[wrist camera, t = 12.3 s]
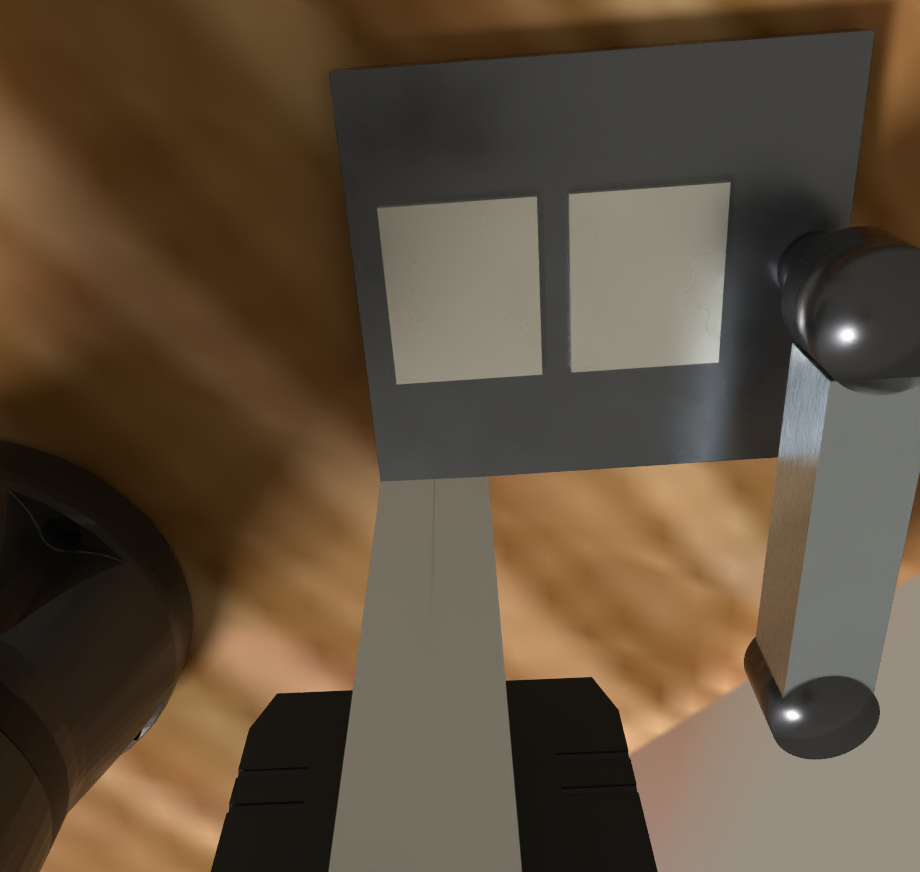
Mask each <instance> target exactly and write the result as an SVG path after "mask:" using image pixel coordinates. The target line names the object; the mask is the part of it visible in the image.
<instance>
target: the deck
mask: <svg viewBox="0 0 920 872" xmlns="http://www.w3.org/2000/svg"><path fill="white" fill-rule="evenodd" d="M874 33H875V30H866V29H850V30H837V31H823V32H810V33H797V34H784V35H771V36H758V37H745V38H732V39H719V40H706V41H693V42H680V43H667V44H654V45H641V46H628V47H615V48H602V49H589V50H576V51H563V52H550V53H537V54H524V55H511V56H498V57H485V58H472V59H459V60H446V61H432V62H419V63H406V64H393V65H380V66H367V67H354V68H341V69H333V70H331V71H330V72H329V77H330V85H331V93H332V101H333V109H334V117H335V124H336V132H337V140H338V148H339V156H340V164H341V172H342V180H343V187H344V195H345V203H346V211H347V219H348V227H349V235H350V243H351V250H352V258H353V266H354V274H355V282H356V290H357V298H358V306H359V314H360V321H361V329H362V337H363V345H364V353H365V361H366V369H367V377H368V384H369V392H370V400H371V408H372V416H373V424H374V432H375V440H376V447H377V455H378V463H379V471H380V479H381V482H382V481H404V480H426V479H448V478H469V477H484V476H499V475H514V474H530V473H545V472H560V471H575V470H590V469H606V468H621V467H636V466H651V465H667V464H682V463H697V462H712V461H727V460H743V459H758V458H773V457H778V454H779V446H780V438H781V430H782V422H783V414H784V406H785V398H786V390H787V382H788V374H789V365H790V357H791V349H792V343H797V342H796V341H795V340H794V338H793V337H792V336H791V335H790V333H789V332H788V330H787V328H786V326H785V323H784V321H783V317H782V312H781V296H782V290H783V286H784V283H785V280H786V278H787V276H788V274H789V271H790V270H791V268H792V267H793V265H794V263H795V262H796V261H797V260H798V258H799V257H800V256H801V255H802V254H803V253H804V252H805V251H806V250H807V249H808V248H809V247H810V246H811V245H813V244H814V243H815V242H817V241H818V240H820V239H821V238H823V237H825V236H827V235H829V234H831V233H833V232H836V231H838V230H841V229H846V228H850V220H851V212H852V204H853V197H854V189H855V181H856V173H857V165H858V158H859V150H860V142H861V134H862V127H863V119H864V111H865V103H866V96H867V88H868V80H869V72H870V65H871V57H872V49H873V41H874Z"/></svg>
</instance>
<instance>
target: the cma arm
mask: <svg viewBox="0 0 920 872" xmlns="http://www.w3.org/2000/svg"><path fill="white" fill-rule="evenodd" d="M781 312H782V317H783V321H784V323H785V326H786V328H787V330H788V332H789V333H790V335H791V336H792V337H793V338H794V340H795V341H796V342H797V343H792V349H791V357H790V365H789V374H788V382H787V390H786V398H785V406H784V414H783V422H782V430H781V438H780V446H779V454H778V462H777V470H776V478H775V487H774V495H773V503H772V511H771V519H770V527H769V535H768V543H767V551H766V559H765V567H764V575H763V583H762V592H761V600H760V608H759V616H758V624H757V632H756V637H755V638H754V639H753V640H752V642H751V643H750V644H749V646H748V648H747V650H746V653H745V657H744V669H745V672H746V675H747V677H748V679H749V682H750V684H751V686H752V688H753V690H754V693H755V695H756V698H757V700H758V702H759V704H760V707H761V709H762V711H763V714H764V716H765V718H766V720H767V723H768V725H769V727H770V729H771V732H772V734H773V736H774V739H775V740H776V742H777V743H778V745H779V746H780V747H781V748H782V749H783V750H785V751H786V752H788V753H789V754H792V755H794V756H797V757H800V758H805V759H827V758H832V757H836V756H839V755H842V754H845V753H847V752H849V751H851V750H853V749H854V748H856V747H858V746H859V745H860V744H862V743H863V742H864V741H865V740H866V739H867V738H868V737H869V736H870V735H871V734H872V732H873V731H874V729H875V728H876V726H877V723H878V720H879V715H880V710H879V704H878V701H877V699H876V697H875V695H874V690H875V684H876V680H877V675H878V670H879V666H880V661H881V656H882V651H883V646H884V641H885V637H886V632H887V627H888V622H889V617H890V612H891V608H892V603H893V597H894V593H895V588H896V584H897V579H898V574H899V569H900V564H901V560H902V555H903V550H904V545H905V540H906V535H907V531H908V526H909V521H910V516H911V511H912V506H913V502H914V497H915V492H916V487H917V482H918V478H919V473H920V249H919V248H918V247H916V246H914V245H912V244H910V243H908V242H906V241H904V240H903V239H901V238H899V237H897V236H895V235H893V234H891V233H889V232H887V231H885V230H882V229H879V228H874V227H862V226H858V227H850V228H846V229H841V230H838V231H836V232H833V233H831V234H829V235H827V236H825V237H823V238H821V239H820V240H818V241H817V242H815V243H814V244H813V245H811V246H810V247H809V248H808V249H807V250H806V251H805V252H804V253H803V254H802V255H801V256H800V257H799V258H798V260H797V261H796V262H795V263H794V265H793V267H792V268H791V270H790V271H789V274H788V276H787V278H786V280H785V283H784V286H783V290H782V296H781Z"/></svg>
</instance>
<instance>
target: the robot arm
mask: <svg viewBox="0 0 920 872" xmlns="http://www.w3.org/2000/svg"><path fill="white" fill-rule="evenodd" d="M191 637H192V608H191V601H190V596H189V592H188V588H187V585H186V582H185V579H184V576H183V574H182V571H181V569H180V567H179V565H178V563H177V561H176V559H175V557H174V555H173V554H172V552H171V550H170V548H169V547H168V545H167V544H166V542H165V541H164V539H163V538H162V537H161V535H160V534H159V533H158V531H157V530H156V529H155V528H154V527H153V525H152V524H151V523H150V522H149V521H148V520H147V519H146V518H145V516H144V515H143V514H142V513H141V512H140V511H139V510H137V509H136V508H135V507H134V506H133V505H132V504H131V503H130V502H129V501H128V500H126V499H125V498H124V497H123V496H122V495H120V494H119V493H118V492H116V491H115V490H114V489H112V488H111V487H110V486H108V485H107V484H105V483H104V482H102V481H101V480H99V479H97V478H96V477H94V476H93V475H91V474H89V473H87V472H85V471H84V470H82V469H80V468H78V467H76V466H74V465H72V464H70V463H68V462H66V461H63V460H61V459H59V458H56V457H54V456H51V455H49V454H46V453H43V452H40V451H37V450H34V449H30V448H27V447H24V446H20V445H15V444H11V443H6V442H1V441H0V872H40V870H41V868H42V866H43V864H44V862H45V860H46V858H47V855H48V853H49V851H50V849H51V847H52V845H53V843H54V841H55V839H56V837H57V834H58V832H59V830H60V828H61V825H62V823H63V821H64V819H65V817H66V815H67V813H68V812H69V811H70V810H71V809H72V808H73V807H74V805H75V804H76V803H77V802H78V801H79V800H80V799H81V798H82V797H83V796H84V795H85V794H86V792H87V791H88V790H89V789H90V788H91V787H92V786H93V785H94V784H95V783H96V782H97V780H98V779H99V778H100V777H101V776H102V775H103V774H104V773H105V772H106V771H107V770H108V768H109V767H110V766H111V765H112V764H113V763H114V762H115V761H116V759H117V758H118V757H119V756H120V755H121V754H123V753H124V752H126V751H127V750H128V749H130V748H131V747H132V746H133V745H134V744H135V743H136V742H137V741H138V740H139V739H140V738H141V737H142V736H143V735H144V734H145V733H146V732H147V731H148V730H149V729H150V728H151V727H152V726H153V724H154V723H155V722H156V721H157V719H158V718H159V716H160V714H161V713H162V711H163V710H164V708H165V707H166V705H167V703H168V701H169V699H170V697H171V695H172V693H173V690H174V688H175V685H176V683H177V680H178V678H179V676H180V673H181V671H182V668H183V666H184V663H185V660H186V658H187V655H188V651H189V648H190V643H191ZM238 771H239V775H238V778H236V780H235V784H234V788H233V791H232V795H231V799H230V802H229V813H227V814H226V817H225V821H224V825H223V828H222V832H221V836H220V840H219V843H218V847H217V851H216V854H215V858H214V862H213V865H212V869H211V872H657V867H656V863H655V860H654V855H653V851H652V847H651V843H650V838H649V834H648V830H647V826H646V822H645V818H644V813H643V809H642V805H641V801H640V797H639V793H638V792H637V788H636V780H635V776H634V772H633V768H632V764H631V760H630V758H629V755H628V747H627V743H626V739H625V735H624V731H623V727H622V722H621V718H620V714H619V710H618V709H617V708H616V706H615V705H614V704H613V703H612V701H611V700H610V699H609V698H608V697H607V695H606V694H605V693H604V692H603V690H602V689H601V688H600V687H599V685H598V684H597V683H596V682H595V681H594V679H593V678H592V677H584V678H561V679H538V680H515V681H505V670H504V658H503V647H502V635H501V623H500V612H499V600H498V589H497V577H496V565H495V554H494V542H493V531H492V519H491V507H490V496H489V484H488V477H470V478H448V479H426V480H404V481H382V482H381V487H380V494H379V502H378V509H377V516H376V524H375V531H374V539H373V546H372V553H371V561H370V568H369V576H368V583H367V590H366V598H365V605H364V613H363V620H362V627H361V635H360V642H359V650H358V657H357V664H356V672H355V679H354V687H353V690H350V691H327V692H304V693H280V694H276V696H275V697H274V698H273V700H272V701H271V702H270V703H269V705H268V706H267V707H266V708H265V710H264V711H263V712H262V714H261V715H260V716H259V717H258V719H257V720H256V721H255V722H254V724H253V725H252V726H251V727H250V729H249V732H248V736H247V739H246V743H245V747H244V751H243V754H242V758H241V762H240V765H239V769H238Z"/></svg>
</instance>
